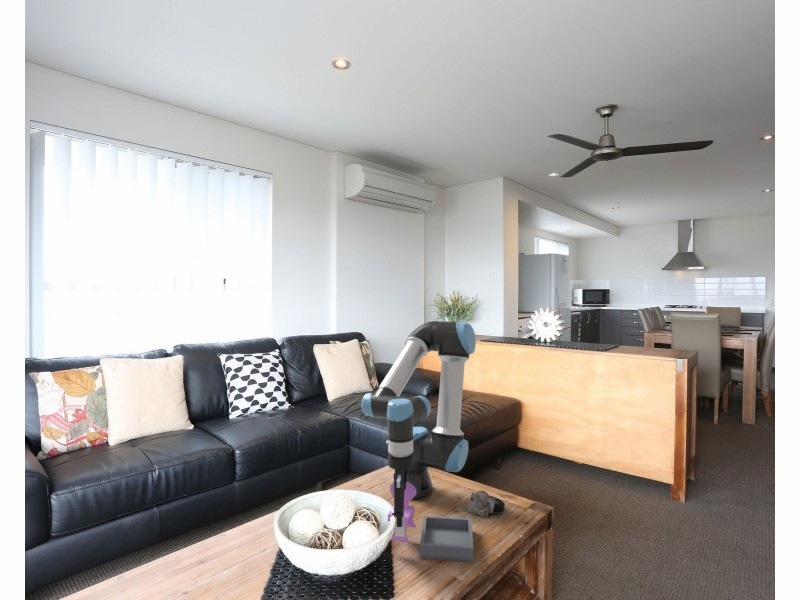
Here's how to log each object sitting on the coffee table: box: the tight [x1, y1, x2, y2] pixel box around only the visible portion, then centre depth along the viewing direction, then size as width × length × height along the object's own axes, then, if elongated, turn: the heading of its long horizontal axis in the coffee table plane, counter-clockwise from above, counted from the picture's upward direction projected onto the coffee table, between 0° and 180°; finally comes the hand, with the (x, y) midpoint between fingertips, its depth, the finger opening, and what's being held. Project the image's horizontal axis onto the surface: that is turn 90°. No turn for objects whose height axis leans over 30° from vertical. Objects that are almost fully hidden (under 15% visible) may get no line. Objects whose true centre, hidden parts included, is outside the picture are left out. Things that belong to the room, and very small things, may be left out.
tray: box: [419, 515, 474, 563], centre depth 135 cm, size 16×15×4 cm
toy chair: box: [387, 482, 417, 543], centre depth 134 cm, size 8×9×15 cm
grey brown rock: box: [467, 490, 506, 519], centre depth 155 cm, size 7×11×10 cm
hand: (401, 526), depth 134 cm, fingers closed on toy chair, 9 cm apart
